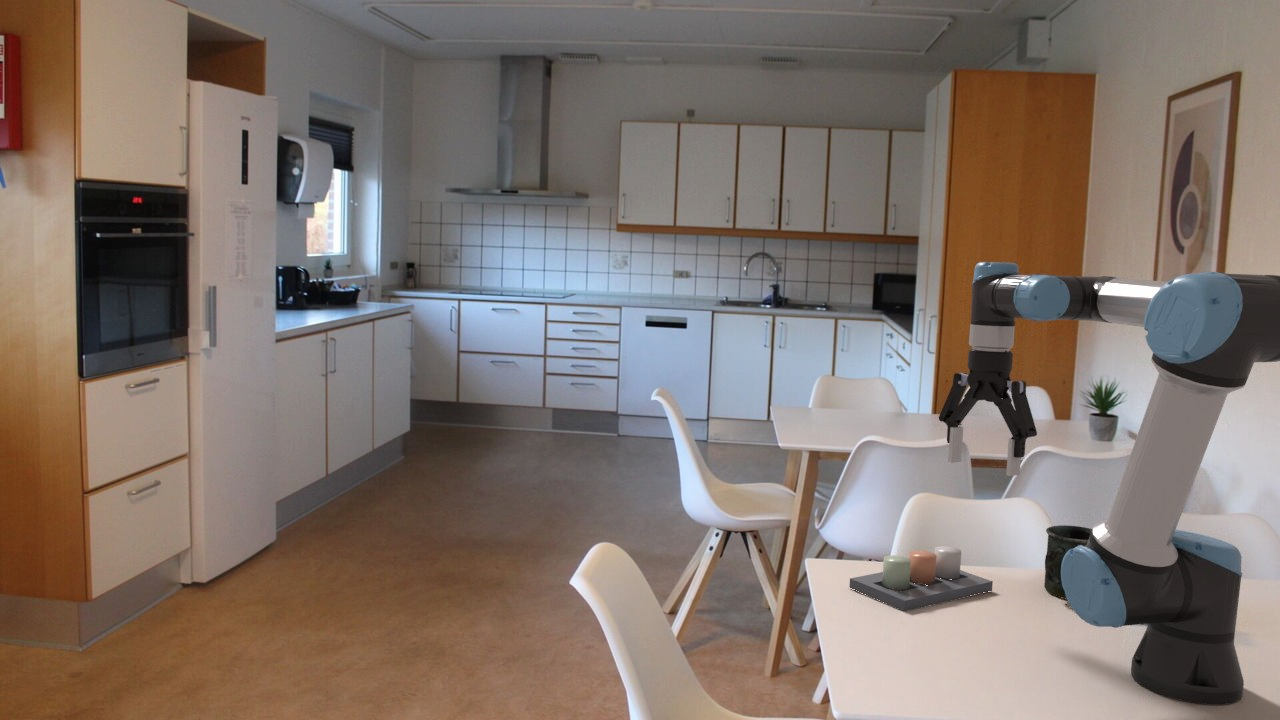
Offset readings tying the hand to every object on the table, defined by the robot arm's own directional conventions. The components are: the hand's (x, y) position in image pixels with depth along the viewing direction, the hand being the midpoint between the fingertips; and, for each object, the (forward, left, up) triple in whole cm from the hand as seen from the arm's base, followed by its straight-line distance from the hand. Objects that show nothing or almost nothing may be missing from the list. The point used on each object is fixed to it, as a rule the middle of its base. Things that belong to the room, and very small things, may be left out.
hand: (983, 468), depth 184 cm
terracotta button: (+12, +1, -24) cm, 27 cm away
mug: (-3, -23, -26) cm, 35 cm away
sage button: (+12, +8, -24) cm, 28 cm away
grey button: (+12, -6, -24) cm, 28 cm away
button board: (+12, +1, -26) cm, 29 cm away
